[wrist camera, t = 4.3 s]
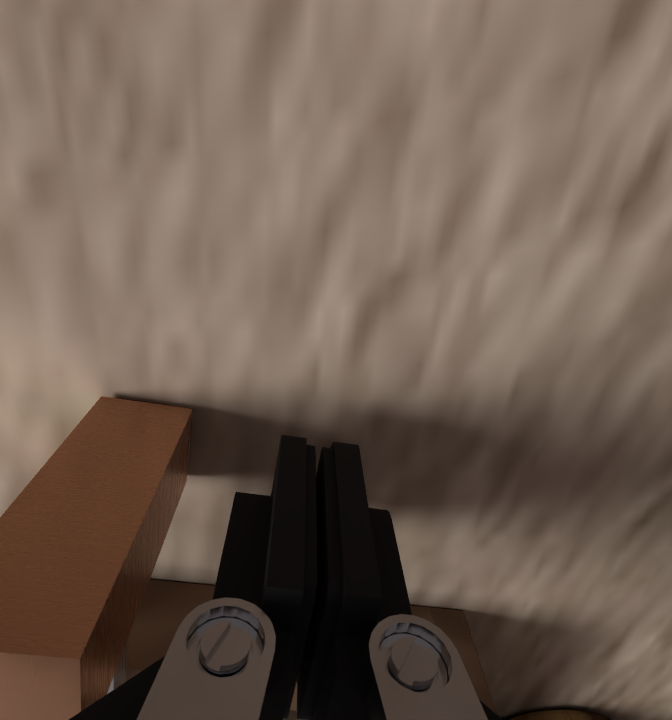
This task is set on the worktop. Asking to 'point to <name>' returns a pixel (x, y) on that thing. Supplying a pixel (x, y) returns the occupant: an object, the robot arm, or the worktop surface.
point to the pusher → (86, 556)
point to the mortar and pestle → (560, 715)
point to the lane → (177, 599)
